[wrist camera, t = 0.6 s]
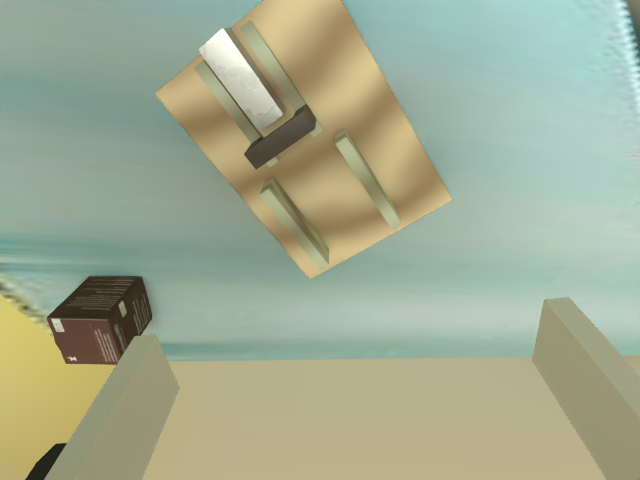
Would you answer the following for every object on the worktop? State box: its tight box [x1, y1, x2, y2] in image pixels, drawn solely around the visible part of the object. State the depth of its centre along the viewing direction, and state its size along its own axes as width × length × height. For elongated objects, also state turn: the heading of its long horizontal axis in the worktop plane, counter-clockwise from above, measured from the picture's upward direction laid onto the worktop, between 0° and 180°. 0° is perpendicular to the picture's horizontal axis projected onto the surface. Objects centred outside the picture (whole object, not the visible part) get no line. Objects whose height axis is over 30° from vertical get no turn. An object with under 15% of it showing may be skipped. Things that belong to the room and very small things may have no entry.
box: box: [47, 276, 152, 365], centre depth 40 cm, size 6×6×7 cm
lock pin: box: [198, 28, 286, 132], centre depth 29 cm, size 7×2×2 cm, turn 34°
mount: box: [155, 0, 452, 279], centre depth 31 cm, size 22×16×6 cm
